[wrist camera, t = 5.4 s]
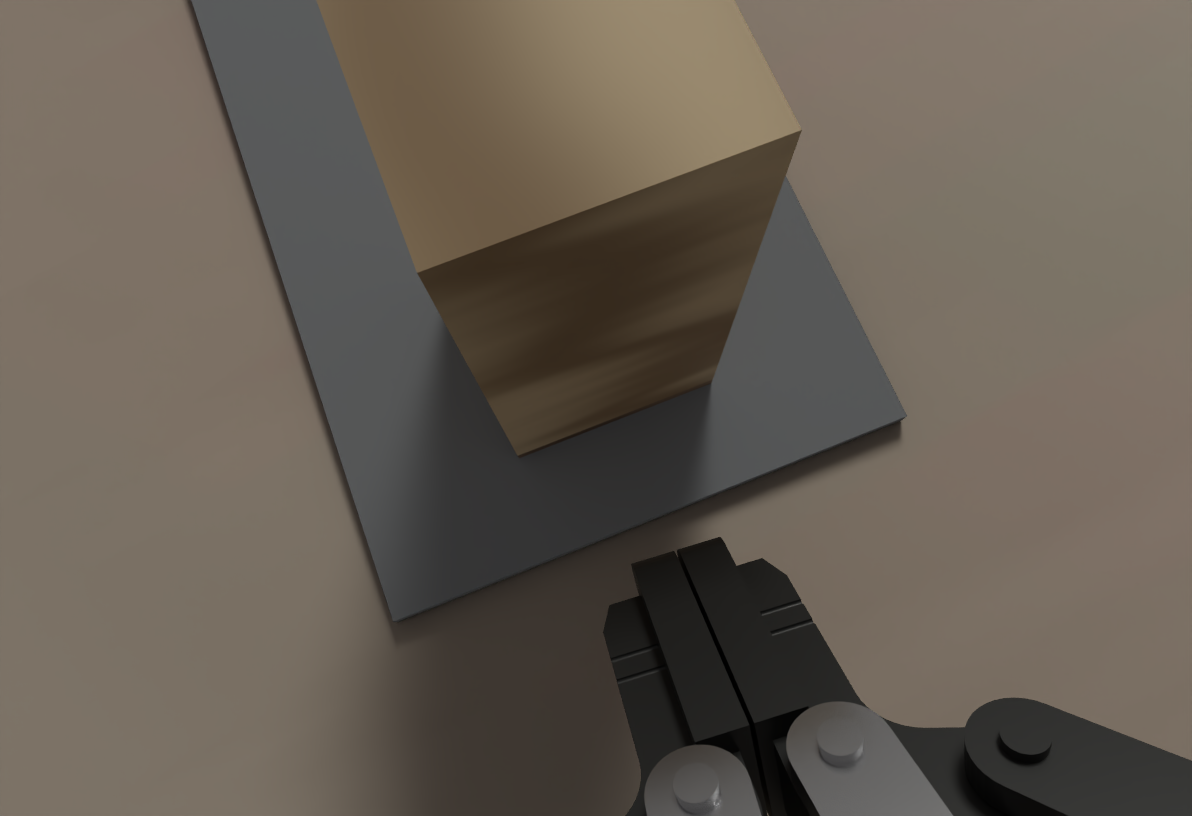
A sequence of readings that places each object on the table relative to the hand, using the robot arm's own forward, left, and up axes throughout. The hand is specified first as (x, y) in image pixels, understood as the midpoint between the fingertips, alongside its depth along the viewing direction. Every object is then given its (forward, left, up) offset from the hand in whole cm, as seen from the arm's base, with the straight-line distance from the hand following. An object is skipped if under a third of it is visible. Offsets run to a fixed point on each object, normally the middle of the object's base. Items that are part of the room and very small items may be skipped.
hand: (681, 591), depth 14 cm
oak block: (-1, -7, -6) cm, 9 cm away
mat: (-1, -13, -7) cm, 15 cm away
